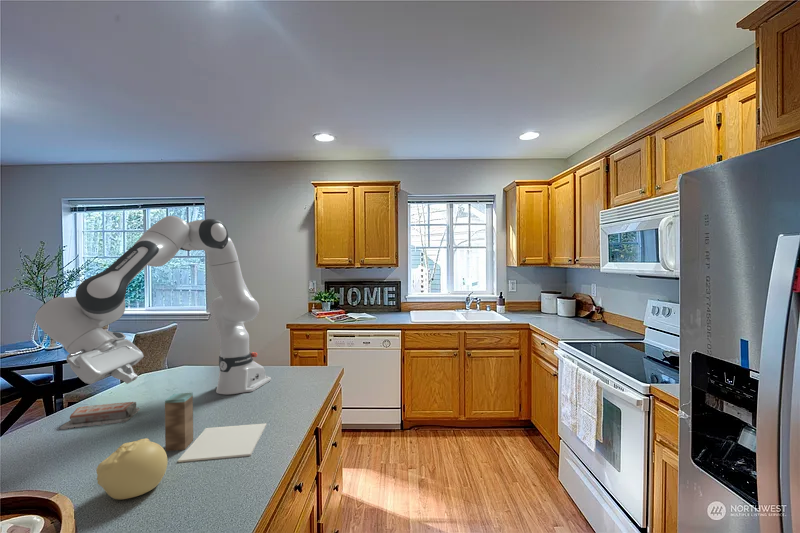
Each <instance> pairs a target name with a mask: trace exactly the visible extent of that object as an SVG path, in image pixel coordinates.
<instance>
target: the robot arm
mask: <svg viewBox="0 0 800 533" xmlns="http://www.w3.org/2000/svg"><path fill="white" fill-rule="evenodd" d="M235 246H236V245H235V244H234V242H233V241H232V239H231V237H229V232H228V229H227V227H226V226H225V224H224V223H223V222H222V221H220V220H218V219H215V218H207V219H197V220H192V221H188V222H187V221H186V220H184V219H183V218H181V217H178V216H176V215H167V216H165V217H163V218H162V219H160V220H158V221H156V223H154V224H153V225H152V226H150V227H149V228H148V229H147V230H146V231H145V232H144V233H143V234H142V235H141V236H140V237H139V238H138V240H136V242H135V243H134V244H133V245H132V246H131V247H130V248H129V249H128V250H127V251H125V252H124V253H123V254H122V255H121V256H120V257H119V258H117V259H116V260H115V261H114V262H113V263H112V264H110V265H109V266H108V267H107V268H106V269H104V270H102V271H101V272H99V273H97V274H94V275H92V276H90V277H87V278H86V279H84V280H83V281H81V283H80V284H79V285H78V286H77V289H76V291H75V296H67V297H62V296H57V297H54V298H51V299H49V300H48V301H46V302H45V303H44V304H43V305H41V306H40V307H39V309H38V310H37V311H36V313H35V316H34V318H35V322H36V324H37V325H38V327H39V328H40V329H41V330H42V331H43V332H44V333H45V334H46V335H47V336H48V337H50V338H51V340H52V341H54V342H56V343H59V344H61V345H62V347H63V348H64V350H65V351H66V352H67V353H68V354H67V356H66V362H67V364H69V367H70V369H71V370H72V371H73V373H74V374H75V376H77V377H78V378H79V379H80V380H81V381H82V382H84V383H85V384H88V385H92V384H94V383H96V382H100V381H101V380H103V379H106V378H108V377H110V376H112V377H113V378H114V379H117V380H120V381H123V382H124V384H127V385H128V384H130V383H132V382H134V381H136V380H137V378H138V377H139V376H138V374H137V373H135V370H134V368H133V366H135V365H137V364H138V363H139V362H140V361H141V360H143V358H144V352H143V351H142V350H141V349H140V348H139V347H138V346H137V345H135V343H133V342H132V341H130V340H129V339H127V336H126V335H125V334H124V333H123V332H119V331H118V332H117V331H111V330H105V329H104V327H105V328H106V327H107V326H109V325H111V324H113V323H115V322H117V321H118V320H120V319H121V318H122V317H123V315H124V314H125V311H126V293H127V288H128V286H129V285H130V283H131V282H132V281H133V280H134V279H135V278H136V277H137V276H138V275H139V274H140V273H141V272H142V271H143V270H144V269H145V268H146V267H147V266H149V267H153V268H156V267H163V266H165V265H166V264H167V263H169V262H170V261H171V260H172V259H173V258H174V257H175V256H176V255H177V254H178V252H179V251H184V252H190V251H204V252H205V253H206V256H207V263H208V267H209V272H210V276H211V280H212V283H213V286H214V287H215V288H216V289H217V291H218V292H219V296H218V297H215V298H214V299H213V300H212V302H211V303H210V308H209V310H210V312H211V314H212V315H213V317H214V320H215V325H216V328H217V331H218V336H219V356H218V367H219V374H218V381H217V386H216V389H215V392H216V393H217V394H218V395H219V394H220V395H235V394H236V395H237V394H242V393H250V392H254V391H256V390H257V389H258V388H259V389H260V387H262V386H264V385H266V384H268V382H270V381H272V377H270V376H269V375H266V369H265V367H264V366H263V365H261V364H260V363H257V362H256V361H255V360H254V359H253V358H257V357H258V353H257V352H256V351H255V352H254V351H252V352H250V334H249V332H248V331H247V329H246V326H245V323H249V322H251V321H253V320H255V319H256V318H257V317H258V316H259V313H260V304H259V302H258V301H257V299H255V298H254V297H253V295H252V293H251V292H250V290H249V288H248V287H247V284H246V281H245V280H244V277H243V273H242V269H241V264H240V259H239V257H238V252H237V249H236V247H235Z"/></svg>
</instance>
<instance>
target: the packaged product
mask: <svg viewBox="0 0 800 533" xmlns="http://www.w3.org/2000/svg"><path fill="white" fill-rule="evenodd" d="M138 411H139V412H140V408H139V407H137V402H136V401H128V402H115V403H106V404H94V405H84V406H80V407H79V406H78V407H77V408H76V409H75V410H74V411H73V412H72V413H71V414H70V416H69V421H67V422H65V423H64V424H62V425H61V426H59V429H60V430H69V429H74V427H75V428H83V427H82V426H88V427H95V426H94V425H98V426H104V425H103V424H106V425H112V424H122V423H126V422H128V421H129V420H130V419H131V418H133V417H134V416H135V415H136V414H137V413H139V412H138ZM68 428H69V429H68Z"/></svg>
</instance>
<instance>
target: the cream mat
mask: <svg viewBox="0 0 800 533" xmlns="http://www.w3.org/2000/svg"><path fill="white" fill-rule="evenodd" d="M266 427H267V423H265V422H264V423H252V424H240V425H228V426H215V427H206V428H204V429H203V431H202V432H201V434H199V436H197V437H196V439H195V440H193V441H192V442H191V444H190V445H189V446H188V447H187V448H186V449H185V451H184V453H182V455H181V456H180V457H179V458H178V459H177V463H186V462H194V461H195V462H196V461H197V462H198V461H206V460H217V459H219V460H220V459H230V458H231V459H232V458H240V457H241V458H242V457H250V456H252V454H253V452H254V450H255V449H256V447H257V445H258V443H259V440H260V438H261V437H262V434H263V433H264V431H265V428H266Z"/></svg>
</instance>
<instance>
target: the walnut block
mask: <svg viewBox="0 0 800 533" xmlns="http://www.w3.org/2000/svg"><path fill="white" fill-rule="evenodd" d="M193 394H194V393H193V392H182V393H181V392H180V393H173V394H172V395H170V396H169V397H168V398H166V399H165V400H164V427H165V428H164V430H165V431H164V432H165V435H164V437H165V443H164V444H165V447H164V448H165V452H171V451H172V452H173V451H174V452H175V451H183V450H185V451H186V450H187V449H188V448H189V447H190V446H191V445H192V443H193V442H194V406H193V405H194V402H193V400H194V398H193V397H194V396H193Z"/></svg>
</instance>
